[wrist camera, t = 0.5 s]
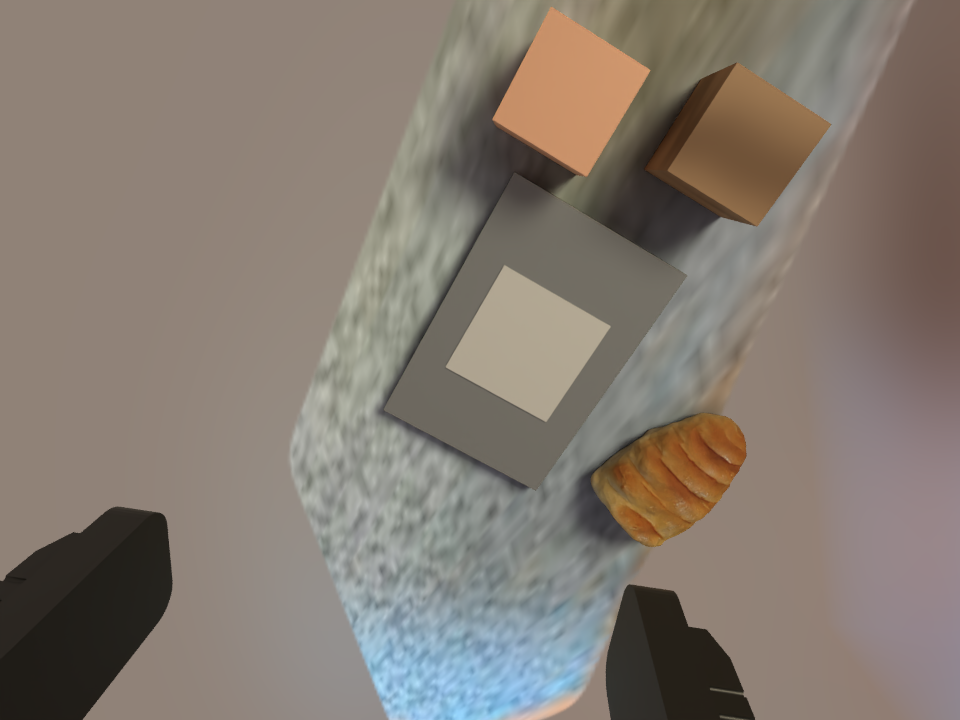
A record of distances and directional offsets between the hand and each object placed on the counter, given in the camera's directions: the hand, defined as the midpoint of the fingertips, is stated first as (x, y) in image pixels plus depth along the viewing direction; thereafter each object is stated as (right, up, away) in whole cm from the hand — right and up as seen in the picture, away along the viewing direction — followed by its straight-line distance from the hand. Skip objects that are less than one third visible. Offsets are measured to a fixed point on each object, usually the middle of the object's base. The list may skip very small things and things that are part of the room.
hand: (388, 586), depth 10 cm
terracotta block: (+6, +17, +20) cm, 27 cm away
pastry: (+13, -3, +27) cm, 30 cm away
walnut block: (+14, +15, +20) cm, 28 cm away
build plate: (+4, +5, +24) cm, 25 cm away
